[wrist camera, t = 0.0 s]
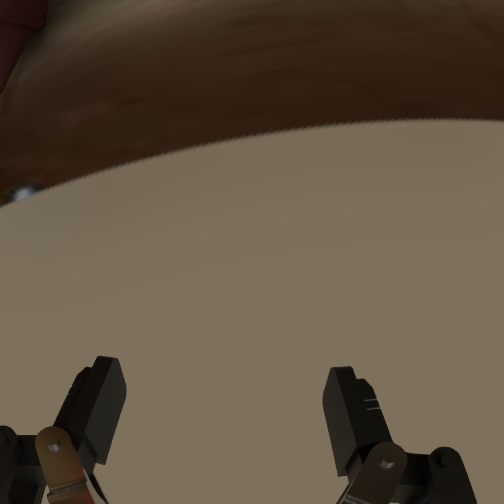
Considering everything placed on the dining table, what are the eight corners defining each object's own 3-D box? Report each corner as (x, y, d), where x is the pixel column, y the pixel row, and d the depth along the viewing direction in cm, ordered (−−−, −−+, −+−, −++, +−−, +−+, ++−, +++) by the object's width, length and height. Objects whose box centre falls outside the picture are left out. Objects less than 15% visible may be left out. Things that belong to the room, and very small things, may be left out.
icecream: (15, 98, 19) (63, -59, 12) (-46, 100, 16) (-4, -50, 9) (40, 92, 24) (78, -38, 18) (-15, 92, 22) (20, -34, 15)
